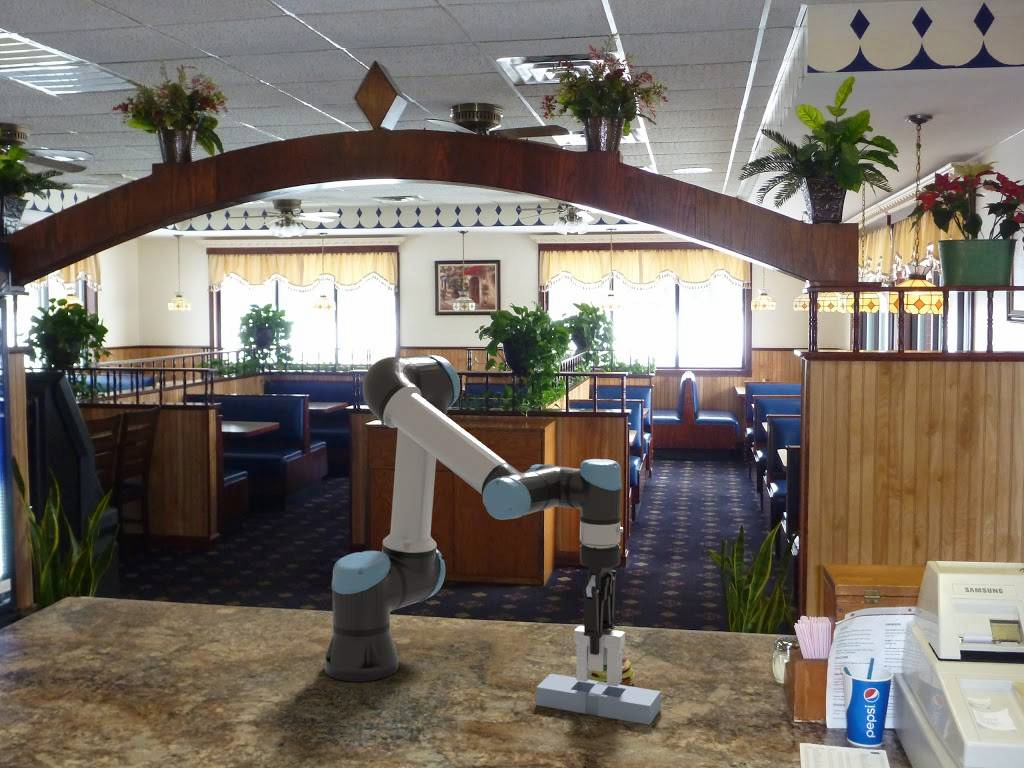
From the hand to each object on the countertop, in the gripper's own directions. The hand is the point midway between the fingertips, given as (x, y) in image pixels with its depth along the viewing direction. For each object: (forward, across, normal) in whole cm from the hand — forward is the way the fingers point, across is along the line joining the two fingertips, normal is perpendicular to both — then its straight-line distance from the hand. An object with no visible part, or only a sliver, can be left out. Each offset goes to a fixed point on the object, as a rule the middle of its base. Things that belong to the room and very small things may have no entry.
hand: (599, 666), depth 189 cm
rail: (+8, 0, 0) cm, 8 cm away
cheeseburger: (+8, +12, +3) cm, 15 cm away
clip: (+3, 0, 0) cm, 3 cm away
